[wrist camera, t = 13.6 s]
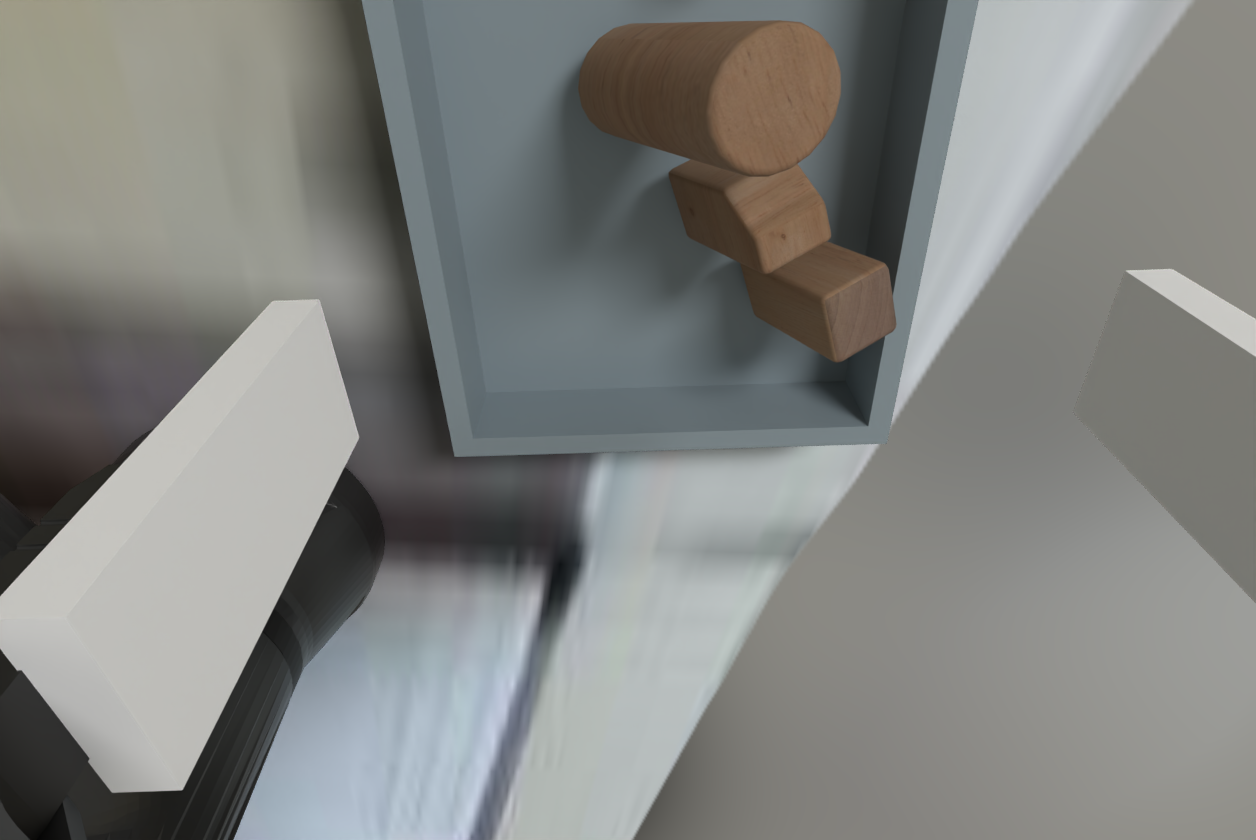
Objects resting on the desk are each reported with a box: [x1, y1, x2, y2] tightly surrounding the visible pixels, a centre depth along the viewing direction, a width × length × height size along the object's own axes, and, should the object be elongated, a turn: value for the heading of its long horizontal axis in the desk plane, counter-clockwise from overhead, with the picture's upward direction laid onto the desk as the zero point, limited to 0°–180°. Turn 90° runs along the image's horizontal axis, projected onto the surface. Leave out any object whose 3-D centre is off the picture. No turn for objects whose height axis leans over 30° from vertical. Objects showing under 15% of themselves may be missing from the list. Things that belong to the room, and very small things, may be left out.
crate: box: [362, 0, 979, 457], centre depth 28 cm, size 20×28×5 cm
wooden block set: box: [578, 20, 897, 362], centre depth 25 cm, size 18×9×10 cm, turn 19°
